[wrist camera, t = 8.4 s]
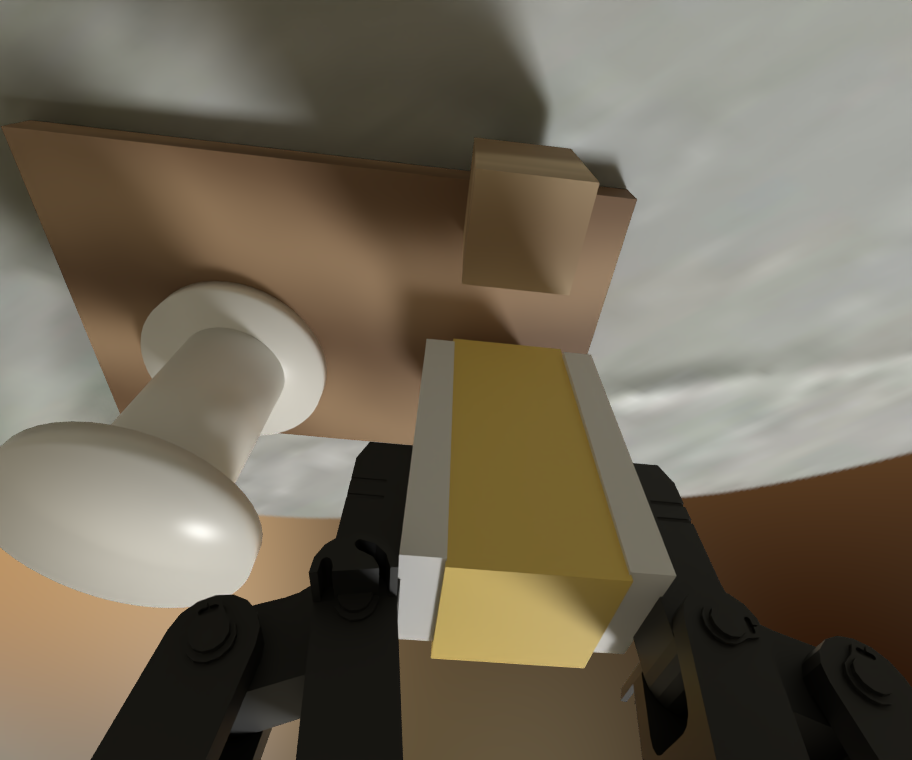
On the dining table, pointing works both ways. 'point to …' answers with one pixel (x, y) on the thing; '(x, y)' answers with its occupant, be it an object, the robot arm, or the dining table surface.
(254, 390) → the knob
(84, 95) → the dining table surface
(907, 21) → the dining table surface
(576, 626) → the yellow rectangular block
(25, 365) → the dining table surface
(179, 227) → the board
